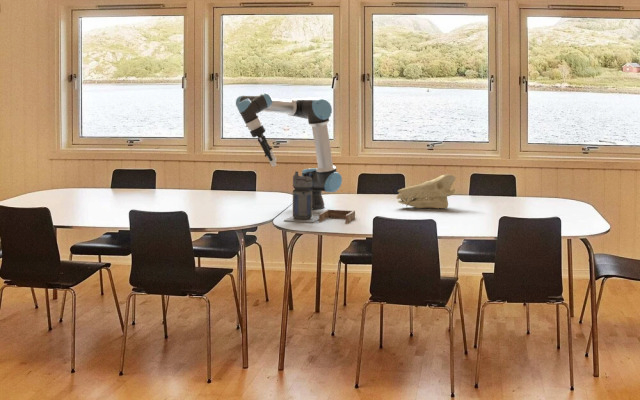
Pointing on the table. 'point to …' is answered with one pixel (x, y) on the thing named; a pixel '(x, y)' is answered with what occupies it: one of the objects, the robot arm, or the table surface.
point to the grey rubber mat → (311, 220)
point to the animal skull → (428, 193)
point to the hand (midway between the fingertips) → (274, 163)
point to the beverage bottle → (302, 196)
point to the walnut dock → (337, 215)
